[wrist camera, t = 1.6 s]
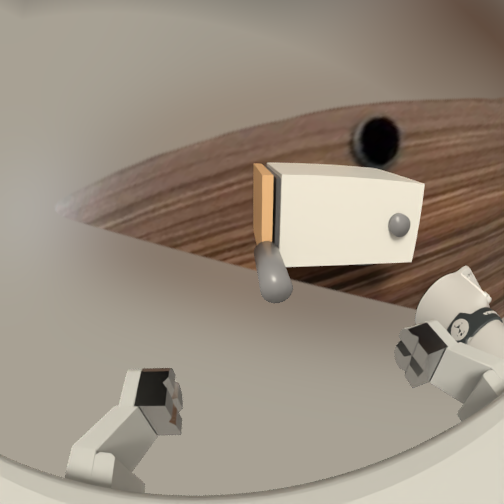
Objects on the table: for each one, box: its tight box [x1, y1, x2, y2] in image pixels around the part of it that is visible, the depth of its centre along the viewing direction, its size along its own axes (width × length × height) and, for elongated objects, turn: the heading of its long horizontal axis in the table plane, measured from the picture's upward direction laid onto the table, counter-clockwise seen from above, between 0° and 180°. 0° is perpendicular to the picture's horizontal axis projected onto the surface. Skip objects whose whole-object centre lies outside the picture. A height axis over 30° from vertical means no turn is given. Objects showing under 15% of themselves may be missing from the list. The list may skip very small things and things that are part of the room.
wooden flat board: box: [253, 164, 293, 303], centre depth 28 cm, size 2×9×19 cm, turn 0°
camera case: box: [264, 163, 425, 267], centre depth 32 cm, size 16×10×13 cm, turn 90°
